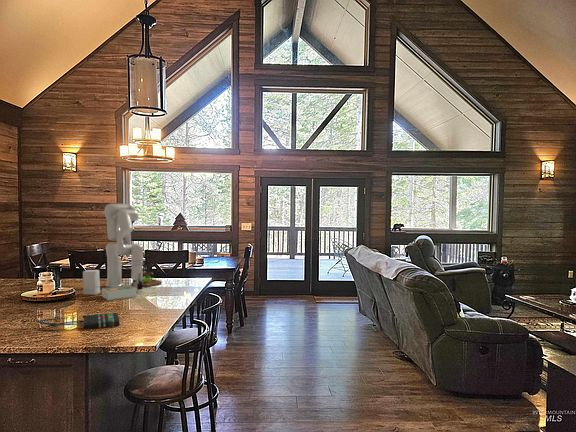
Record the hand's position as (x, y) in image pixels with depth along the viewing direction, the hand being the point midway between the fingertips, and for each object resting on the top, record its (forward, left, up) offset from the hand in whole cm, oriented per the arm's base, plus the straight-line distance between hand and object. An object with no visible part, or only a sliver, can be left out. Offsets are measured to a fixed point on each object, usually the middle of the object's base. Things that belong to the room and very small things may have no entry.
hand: (137, 288), depth 277 cm
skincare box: (-12, -26, -3) cm, 29 cm away
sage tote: (+8, -14, -3) cm, 16 cm away
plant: (-22, +14, -3) cm, 26 cm away
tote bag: (+59, -47, -4) cm, 76 cm away
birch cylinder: (0, 0, -3) cm, 3 cm away
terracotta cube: (+8, -18, -2) cm, 20 cm away
